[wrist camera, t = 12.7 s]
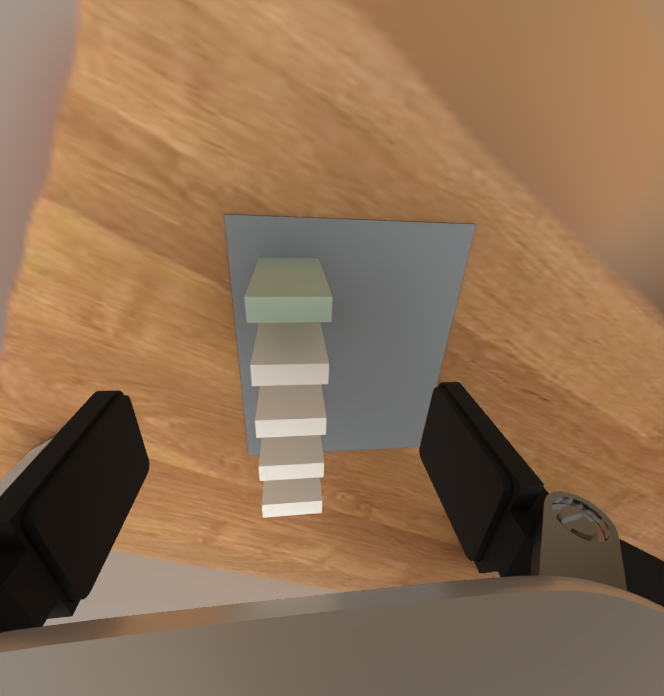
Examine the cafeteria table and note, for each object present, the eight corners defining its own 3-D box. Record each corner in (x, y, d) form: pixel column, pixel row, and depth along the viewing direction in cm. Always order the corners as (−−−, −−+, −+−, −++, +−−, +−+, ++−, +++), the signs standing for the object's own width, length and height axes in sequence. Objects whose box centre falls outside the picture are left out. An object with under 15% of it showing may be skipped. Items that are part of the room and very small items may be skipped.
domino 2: (315, 364, 32) (325, 434, 23) (265, 365, 32) (256, 438, 23) (316, 350, 31) (326, 417, 23) (264, 351, 31) (254, 420, 22)
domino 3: (314, 400, 34) (323, 476, 26) (267, 402, 34) (260, 481, 25) (315, 388, 34) (324, 462, 25) (266, 389, 33) (258, 466, 24)
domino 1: (316, 324, 30) (328, 384, 21) (263, 324, 29) (252, 386, 21) (317, 308, 29) (329, 363, 21) (262, 307, 29) (250, 365, 20)
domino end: (318, 276, 28) (331, 322, 19) (260, 276, 27) (246, 323, 19) (318, 258, 27) (332, 296, 18) (259, 257, 27) (244, 296, 18)
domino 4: (313, 432, 36) (321, 512, 28) (269, 434, 36) (263, 517, 27) (314, 421, 36) (322, 500, 27) (268, 423, 35) (261, 505, 26)
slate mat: (420, 444, 40) (421, 446, 40) (249, 453, 37) (248, 456, 37) (473, 223, 28) (475, 224, 27) (224, 214, 25) (223, 214, 25)
